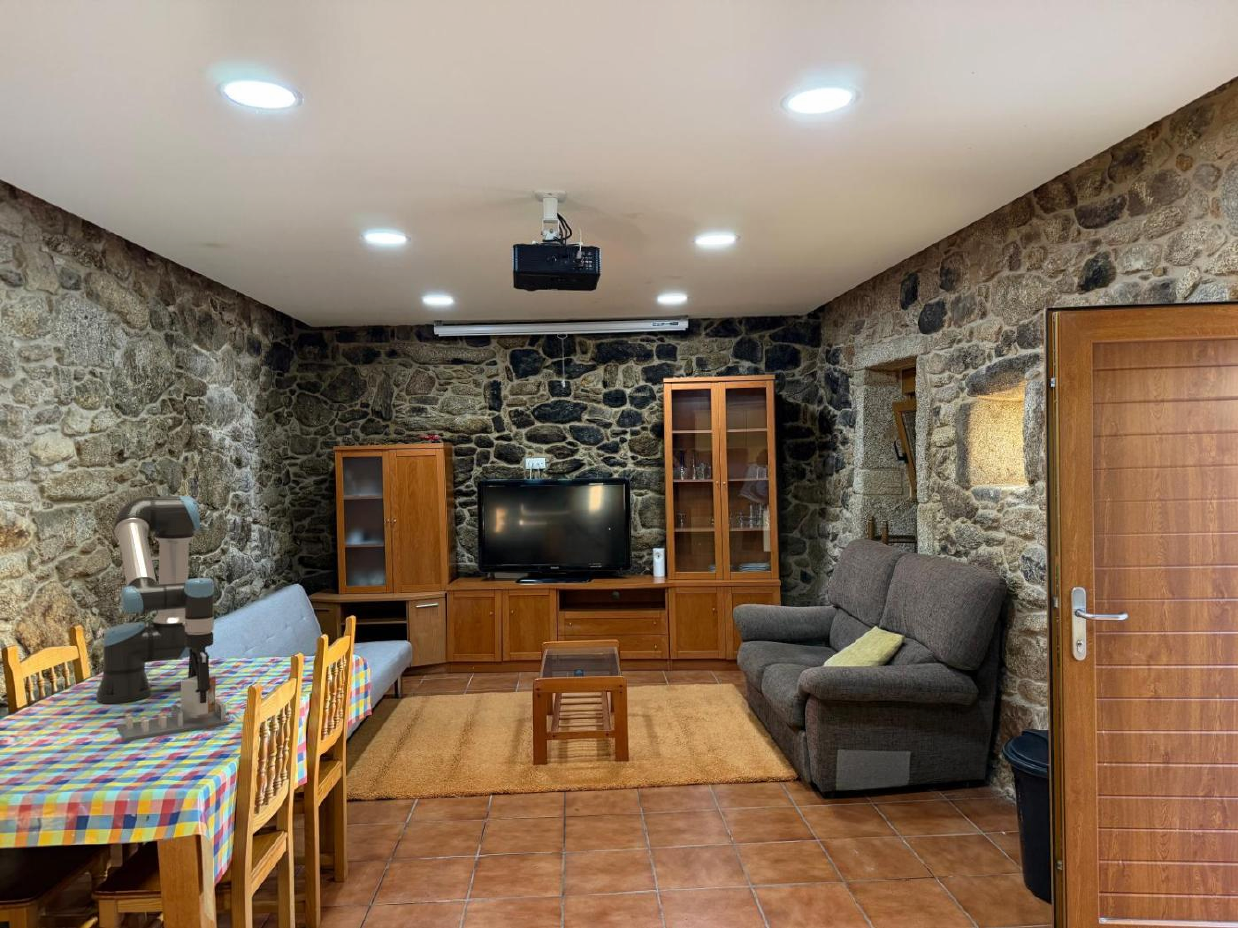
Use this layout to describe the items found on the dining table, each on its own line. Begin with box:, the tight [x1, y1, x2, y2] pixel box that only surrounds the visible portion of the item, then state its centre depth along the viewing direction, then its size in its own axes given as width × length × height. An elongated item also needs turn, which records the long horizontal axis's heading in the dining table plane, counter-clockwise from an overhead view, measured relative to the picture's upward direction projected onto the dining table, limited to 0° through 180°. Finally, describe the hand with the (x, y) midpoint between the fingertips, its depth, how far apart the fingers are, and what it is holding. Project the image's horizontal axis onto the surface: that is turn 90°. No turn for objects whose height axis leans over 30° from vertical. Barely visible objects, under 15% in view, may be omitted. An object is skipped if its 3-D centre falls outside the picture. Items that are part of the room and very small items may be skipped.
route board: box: [116, 712, 229, 742], centre depth 245 cm, size 15×26×4 cm, turn 127°
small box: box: [180, 674, 217, 718], centre depth 248 cm, size 8×6×10 cm
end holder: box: [170, 698, 227, 727], centre depth 248 cm, size 10×12×4 cm
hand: (198, 710), depth 248 cm, fingers closed on small box, 9 cm apart
